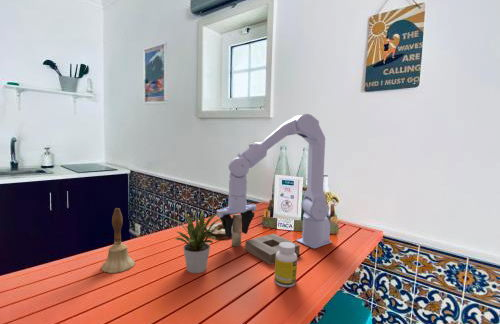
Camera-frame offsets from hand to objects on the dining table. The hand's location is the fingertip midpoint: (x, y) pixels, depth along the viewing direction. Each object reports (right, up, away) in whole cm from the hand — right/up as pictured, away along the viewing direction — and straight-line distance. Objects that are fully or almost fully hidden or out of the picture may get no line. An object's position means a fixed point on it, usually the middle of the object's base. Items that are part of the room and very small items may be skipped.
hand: (236, 234), depth 92 cm
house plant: (-9, -5, -16) cm, 19 cm away
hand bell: (-32, -4, -16) cm, 36 cm away
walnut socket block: (+11, -4, -5) cm, 13 cm away
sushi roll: (-6, -3, +11) cm, 13 cm away
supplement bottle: (+13, -6, -22) cm, 26 cm away
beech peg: (0, -3, 0) cm, 3 cm away
